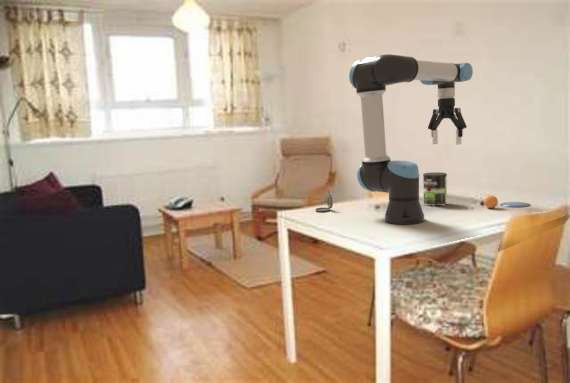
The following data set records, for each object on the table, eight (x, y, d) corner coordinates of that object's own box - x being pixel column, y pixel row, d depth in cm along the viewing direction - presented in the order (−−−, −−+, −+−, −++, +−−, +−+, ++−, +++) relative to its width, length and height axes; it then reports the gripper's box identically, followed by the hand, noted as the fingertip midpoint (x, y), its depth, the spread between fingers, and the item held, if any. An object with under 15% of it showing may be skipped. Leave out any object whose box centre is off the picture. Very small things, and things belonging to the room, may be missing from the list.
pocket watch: (312, 211, 224) (311, 190, 223) (324, 208, 230) (323, 187, 229) (326, 213, 219) (325, 191, 217) (338, 209, 224) (337, 188, 223)
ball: (493, 209, 204) (493, 196, 203) (481, 208, 208) (481, 195, 207) (500, 207, 207) (500, 195, 206) (488, 206, 211) (488, 194, 211)
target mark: (522, 208, 203) (522, 207, 203) (494, 205, 212) (494, 205, 212) (535, 204, 211) (535, 203, 211) (508, 201, 220) (508, 201, 220)
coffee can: (439, 207, 217) (438, 175, 215) (419, 205, 224) (418, 174, 222) (451, 203, 223) (451, 172, 221) (431, 201, 231) (431, 171, 229)
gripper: (474, 95, 216) (474, 143, 219) (430, 99, 237) (431, 143, 240) (463, 96, 212) (463, 145, 215) (419, 99, 233) (420, 144, 236)
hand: (446, 144), depth 228 cm, fingers open, 13 cm apart
